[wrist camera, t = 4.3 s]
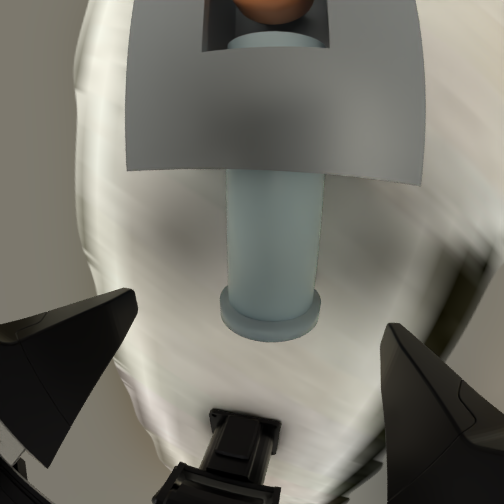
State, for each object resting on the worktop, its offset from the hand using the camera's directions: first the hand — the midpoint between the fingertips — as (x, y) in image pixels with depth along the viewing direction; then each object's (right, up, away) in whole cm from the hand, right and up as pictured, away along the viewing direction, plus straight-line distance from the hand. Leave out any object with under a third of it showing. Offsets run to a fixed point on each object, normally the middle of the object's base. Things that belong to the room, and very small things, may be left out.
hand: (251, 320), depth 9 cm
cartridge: (+2, +6, +5) cm, 7 cm away
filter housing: (+2, +12, +3) cm, 12 cm away
